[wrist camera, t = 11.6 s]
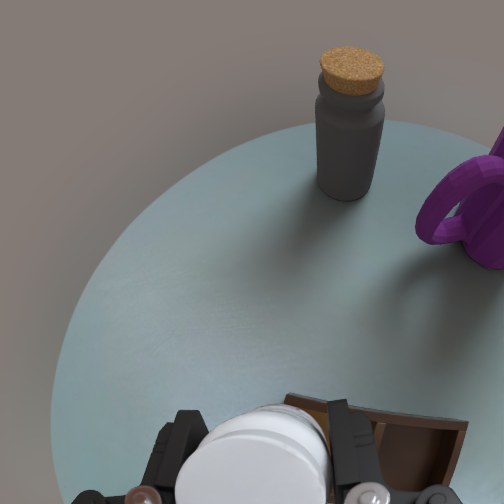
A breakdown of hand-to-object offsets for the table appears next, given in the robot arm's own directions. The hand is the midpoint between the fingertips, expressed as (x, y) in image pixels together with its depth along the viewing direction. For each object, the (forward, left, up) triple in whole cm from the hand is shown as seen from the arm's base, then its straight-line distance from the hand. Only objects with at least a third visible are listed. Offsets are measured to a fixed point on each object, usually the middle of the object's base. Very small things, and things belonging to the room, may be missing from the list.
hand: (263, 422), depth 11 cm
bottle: (+23, 0, -16) cm, 28 cm away
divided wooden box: (-3, -7, -16) cm, 18 cm away
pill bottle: (-2, -1, -4) cm, 5 cm away
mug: (+19, -14, -16) cm, 29 cm away
